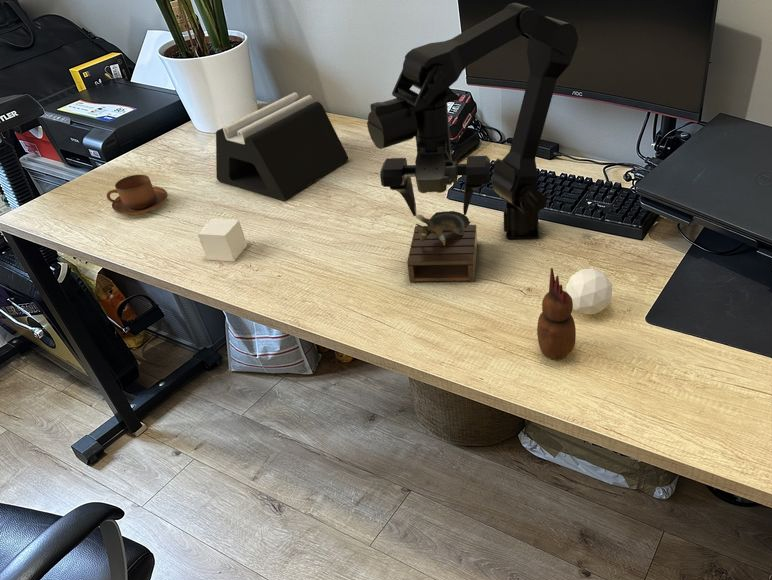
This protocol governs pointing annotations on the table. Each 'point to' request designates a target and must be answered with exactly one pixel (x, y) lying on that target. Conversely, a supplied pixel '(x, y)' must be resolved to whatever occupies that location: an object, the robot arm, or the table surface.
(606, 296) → the geometric ball
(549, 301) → the wooden figurine
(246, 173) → the device stand
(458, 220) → the brown grey dinosaur figurine
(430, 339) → the table surface
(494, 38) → the robot arm
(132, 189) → the cup and saucer
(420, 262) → the box
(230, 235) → the cream white cube
